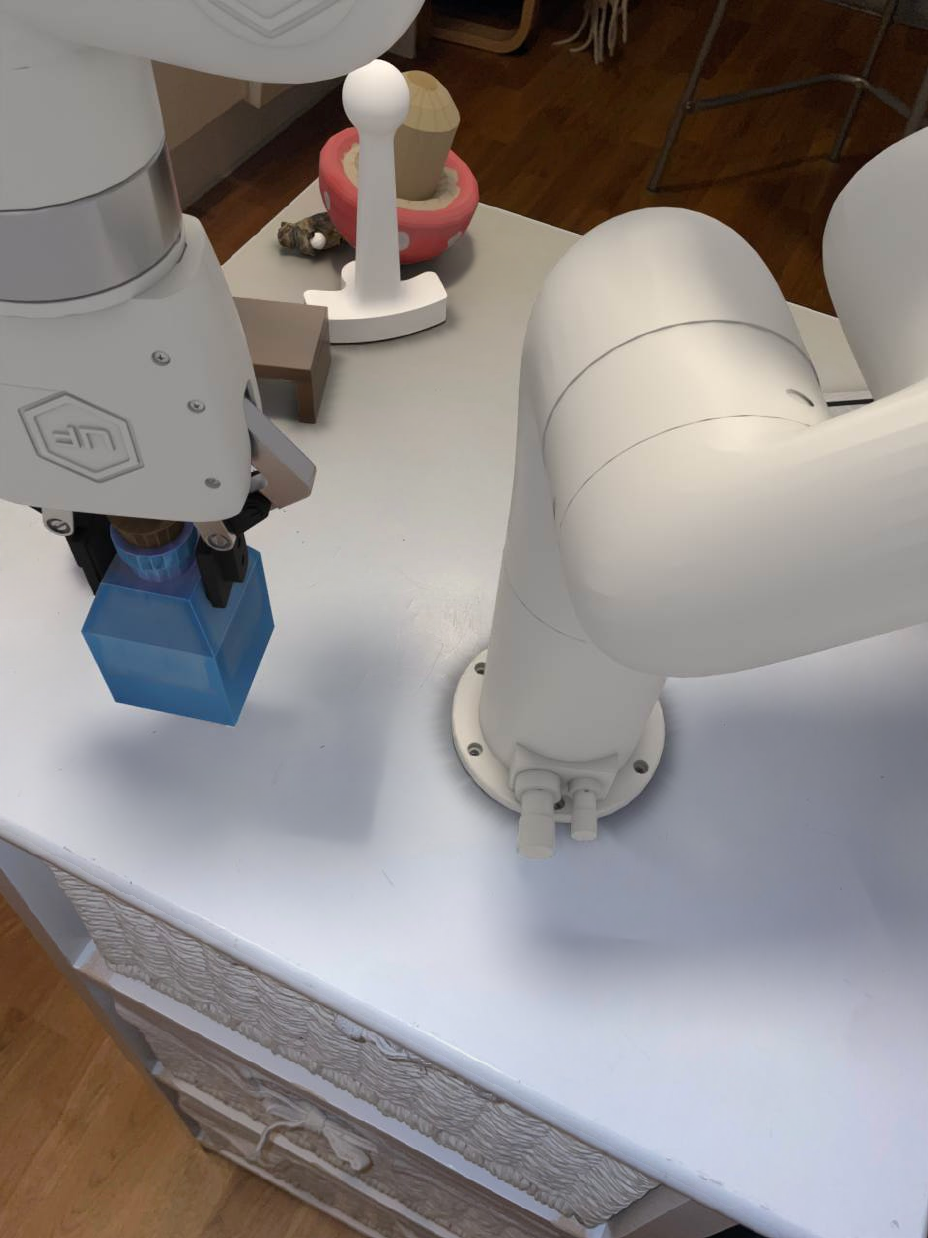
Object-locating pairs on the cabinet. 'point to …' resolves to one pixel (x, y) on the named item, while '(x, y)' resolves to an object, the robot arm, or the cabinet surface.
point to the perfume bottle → (175, 625)
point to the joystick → (378, 225)
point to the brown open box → (289, 346)
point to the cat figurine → (310, 234)
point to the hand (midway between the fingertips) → (168, 574)
